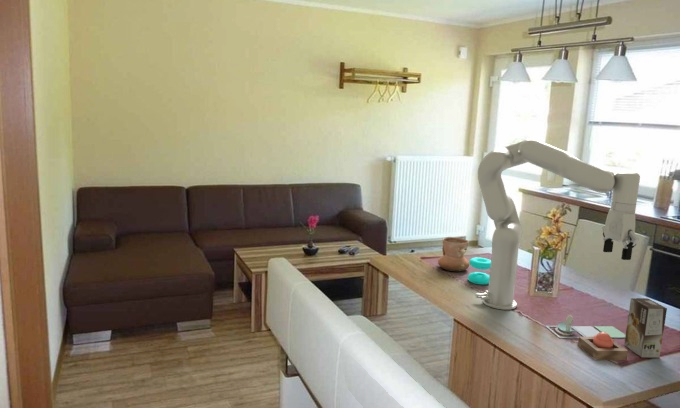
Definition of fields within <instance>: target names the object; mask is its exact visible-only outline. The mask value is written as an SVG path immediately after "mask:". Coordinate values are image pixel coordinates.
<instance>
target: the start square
mask: <svg viewBox="0 0 680 408" xmlns="http://www.w3.org/2000/svg"><path fill="white" fill-rule="evenodd" d="M556 327H558V325H545V328H546V329H548V330H549V332H551V333H553V334H554V336H556V337H558V339H577V340H578V339H579V337H586V336H584V335H583V334H582V333H580V332H579V331H578V330H576V329H575V328H574V327H573V326H572V325H571V328H572V330H574V331H577V332H576V333H577V334H579V335H580V336H560V334H559V333H557V332H556V331H555V330H554V329H552V328H556ZM565 327H566V326H565Z"/></svg>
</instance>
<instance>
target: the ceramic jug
mask: <svg viewBox="0 0 680 408" xmlns="http://www.w3.org/2000/svg"><path fill="white" fill-rule="evenodd" d="M469 244H470V241H469V240H467V239H464V238H460V237H452V236H447V237H443V238H442V256H440V257H439V258H438V260H437V264H438V265H439V267H441V269H444V270H447V271H450V272H462V271H465V270H467V269H468V268H469V266H471V265H470V263H469V261H470V260H468V259H467V258H466V257H465V253H467V249H468V247H469Z"/></svg>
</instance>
